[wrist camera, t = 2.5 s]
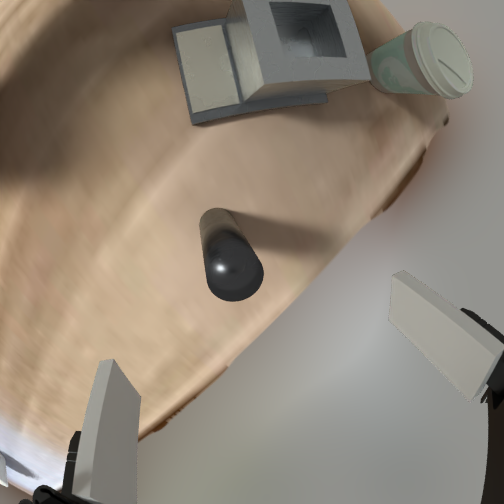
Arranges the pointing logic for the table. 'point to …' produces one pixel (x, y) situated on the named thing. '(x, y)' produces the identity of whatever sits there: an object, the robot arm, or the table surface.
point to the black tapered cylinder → (228, 257)
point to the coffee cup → (422, 63)
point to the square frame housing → (268, 57)
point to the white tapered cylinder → (3, 471)
